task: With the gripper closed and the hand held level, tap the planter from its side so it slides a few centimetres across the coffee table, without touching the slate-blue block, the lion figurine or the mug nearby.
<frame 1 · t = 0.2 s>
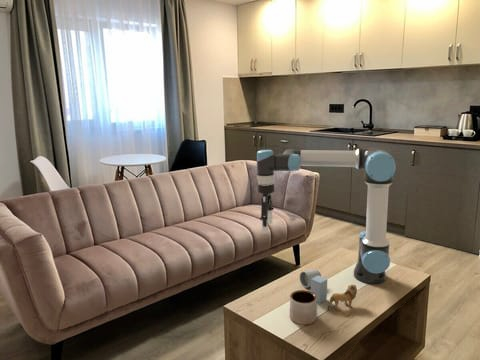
hand: (267, 228, 184), 27 cm above the table, tool pointing down, fingers open, 13 cm apart
planter: (302, 318, 160), on the table
ceramic mug: (308, 284, 187), on the table
slate block: (318, 299, 173), on the table
lion figurine: (342, 306, 168), on the table
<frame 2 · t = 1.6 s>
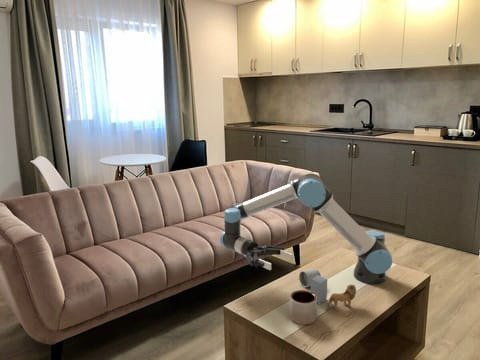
hand: (281, 262, 164), 21 cm above the table, tool horizontal, fingers open, 13 cm apart
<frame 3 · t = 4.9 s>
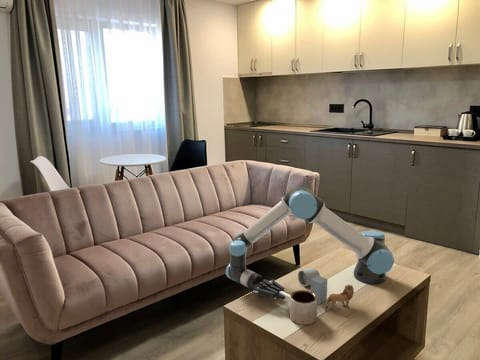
hand: (292, 300, 162), 6 cm above the table, tool horizontal, fingers closed
planter: (303, 318, 160), on the table, touching gripper
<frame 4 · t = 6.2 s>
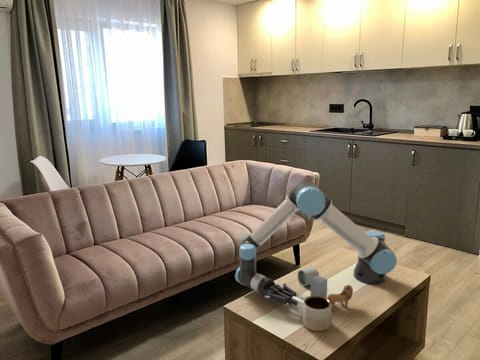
hand: (305, 305, 158), 6 cm above the table, tool horizontal, fingers closed
planter: (316, 324, 155), on the table, touching gripper
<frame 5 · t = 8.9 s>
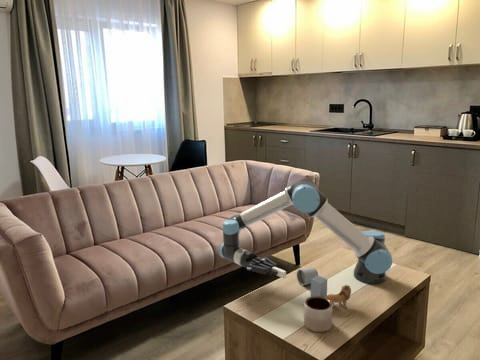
hand: (284, 274, 163), 16 cm above the table, tool horizontal, fingers closed
planter: (317, 325, 155), on the table
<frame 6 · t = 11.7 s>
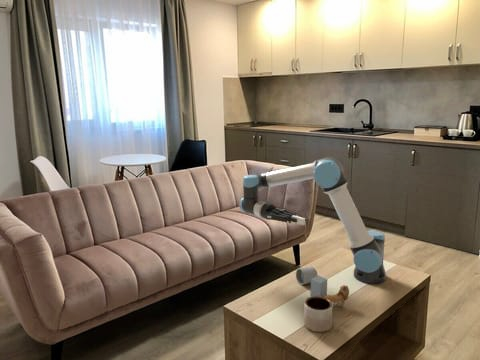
hand: (304, 221, 172), 34 cm above the table, tool horizontal, fingers closed
at the end: planter moved 7.1 cm from its start; planter tilted 0°; slate block moved 0.0 cm from its start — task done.
